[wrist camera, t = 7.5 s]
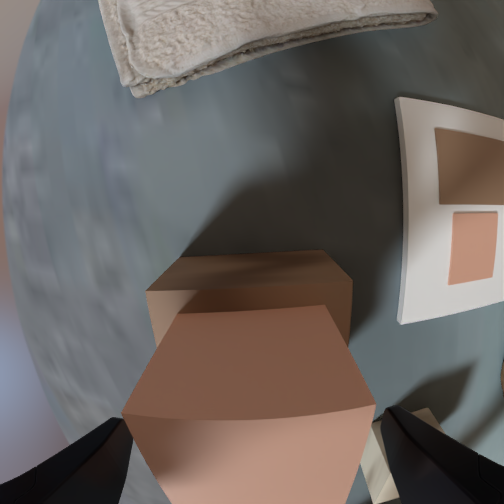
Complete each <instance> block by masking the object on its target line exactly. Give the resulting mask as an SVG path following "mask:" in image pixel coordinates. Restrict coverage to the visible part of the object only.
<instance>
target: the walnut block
mask: <svg viewBox="0 0 504 504" xmlns="http://www.w3.org/2000/svg"><path fill="white" fill-rule="evenodd" d="M145 292H146V298H147V303H148V308H149V313H150V318H151V323H152V328H153V332H154V337H155V341H156V346H157V348H158V346H159V344H160V342H161V341H162V339H163V337H164V335H165V334H166V332H167V330H168V329H169V327H170V325H171V323H172V322H173V320H174V318H175V317H176V315H177V314H186V313H214V312H235V311H252V310H267V309H280V308H293V307H304V306H315V305H325V306H326V308H327V309H328V311H329V313H330V315H331V317H332V319H333V321H334V322H335V324H336V326H337V328H338V330H339V332H340V334H341V336H342V337H343V339H344V341H345V343H346V345H347V347H348V344H349V334H350V322H351V309H352V294H353V280H352V279H351V278H350V277H349V276H348V275H347V274H346V273H345V272H344V271H343V270H342V269H341V268H340V267H339V266H338V264H337V263H336V262H335V261H334V260H333V259H332V258H331V257H330V256H329V255H328V254H327V253H326V252H325V251H324V250H323V249H320V250H302V251H284V252H266V253H247V254H229V255H211V256H192V257H179V258H178V259H177V260H176V261H175V262H174V263H173V264H172V265H171V266H170V267H169V268H168V269H167V270H166V271H165V272H164V273H163V274H162V275H161V276H160V277H159V278H158V279H157V280H156V281H155V282H154V283H153V284H152V285H151V286H150V287H149V288H148V289H147V290H146V291H145Z"/></svg>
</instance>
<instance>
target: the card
mask: <svg viewBox="0 0 504 504" xmlns="http://www.w3.org/2000/svg"><path fill="white" fill-rule="evenodd" d="M394 103H395V109H396V116H397V124H398V132H399V142H400V153H401V166H402V184H403V253H402V271H401V285H400V296H399V306H398V314H397V321H398V322H399V323H400V324H401V325H402V324H407V323H412V322H418V321H423V320H427V319H432V318H437V317H442V316H446V315H450V314H455V313H459V312H463V311H467V310H471V309H475V308H479V307H483V306H487V305H490V304H494V303H497V302H501V301H504V120H503V119H500V118H497V117H493V116H490V115H487V114H483V113H479V112H475V111H472V110H468V109H463V108H459V107H455V106H450V105H445V104H441V103H435V102H430V101H424V100H418V99H412V98H405V97H398V98H396V99H394Z"/></svg>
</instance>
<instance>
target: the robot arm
mask: <svg viewBox="0 0 504 504" xmlns="http://www.w3.org/2000/svg"><path fill="white" fill-rule="evenodd" d="M380 431H381V435H382V439H383V443H384V447H385V452H386V456H387V460H388V465H389V469H390V472H391V475H392V478H393V480H394V483H395V486H396V489H397V491H398V494H399V497H400V500H401V503H402V504H504V466H502V465H499V464H497V463H495V462H493V461H491V460H490V459H488V458H486V457H484V456H482V455H480V454H479V455H478V453H477V452H475V451H473V450H472V449H470V448H468V447H466V446H465V445H463V444H461V443H459V442H458V441H456V440H454V439H453V438H451V437H449V436H448V435H446V434H444V433H443V432H441V431H439V430H438V429H436V428H434V427H433V426H431V425H430V424H428V423H426V422H425V421H423V420H421V419H420V418H418V417H417V416H415V415H413V414H412V413H410V412H409V411H407V410H406V409H404V408H402V407H401V406H399V405H395V406H391V407H387V408H386V409H385V411H384V415H383V418H382V422H381V425H380ZM132 444H133V437H132V435H131V433H130V430H129V428H128V426H127V424H126V422H125V420H124V419H122V418H116V417H112V418H110V419H109V420H107V421H106V422H104V423H103V424H101V425H100V426H98V427H97V428H95V429H94V430H92V431H91V432H89V433H88V434H86V435H85V436H83V437H82V438H80V439H79V440H77V441H76V442H74V443H73V444H71V445H69V446H68V447H66V448H65V449H63V450H62V451H60V452H58V453H57V454H55V455H54V456H52V457H50V458H49V459H47V460H46V461H44V462H42V463H41V464H39V465H37V467H34V468H32V469H31V470H29V471H27V472H25V473H24V474H22V475H20V476H18V477H16V478H14V479H12V480H10V481H7V482H5V483H3V484H0V504H118V503H119V500H120V497H121V493H122V490H123V487H124V484H125V480H126V476H127V471H128V465H129V460H130V454H131V449H132Z"/></svg>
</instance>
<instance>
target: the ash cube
mask: <svg viewBox="0 0 504 504" xmlns="http://www.w3.org/2000/svg"><path fill="white" fill-rule="evenodd" d="M411 413H412V414H413V415H415V416H417V417H418V418H420V419H421V420H423V421H425V422H426V423H428V424H430V425H431V426H433V427H434V428H436V429H438V430H439V431H441V432H443V433H444V434H445V432H444V431H443V429H442V428H441V426H440V425H439V423H438V422H437V420H436V419H435V417H434V416H433V414H432V413H431V411H430V410H429V408H428V407H427V408H424V409H421V410H418V411H414V412H411ZM381 422H382V421H377V422H373V423H372V424H371V428H370V431H369V435H368V438H367V442H366V445H365V448H364V452H363V455H362V458H361V461H360V464H361V467H362V470H363V473H364V476H365V479H366V483H367V486H368V489H369V492H370V495H371V499H372V502H373V504H379V503H382V502H386V501H389V500H392V499H395V498H398V497H399V494H398V491H397V489H396V486H395V483H394V480H393V478H392V475H391V472H390V469H389V465H388V460H387V456H386V452H385V447H384V443H383V439H382V435H381V431H380V425H381Z"/></svg>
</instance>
